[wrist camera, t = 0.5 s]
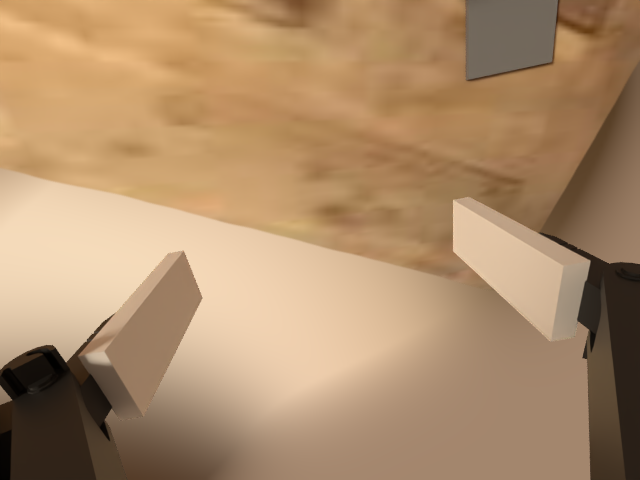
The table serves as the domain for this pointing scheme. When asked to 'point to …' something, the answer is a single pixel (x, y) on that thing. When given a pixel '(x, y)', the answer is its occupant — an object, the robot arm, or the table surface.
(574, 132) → the table surface
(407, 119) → the table surface
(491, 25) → the pad
